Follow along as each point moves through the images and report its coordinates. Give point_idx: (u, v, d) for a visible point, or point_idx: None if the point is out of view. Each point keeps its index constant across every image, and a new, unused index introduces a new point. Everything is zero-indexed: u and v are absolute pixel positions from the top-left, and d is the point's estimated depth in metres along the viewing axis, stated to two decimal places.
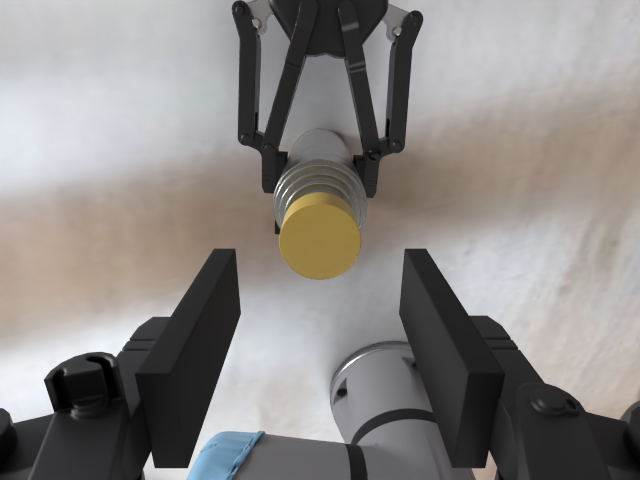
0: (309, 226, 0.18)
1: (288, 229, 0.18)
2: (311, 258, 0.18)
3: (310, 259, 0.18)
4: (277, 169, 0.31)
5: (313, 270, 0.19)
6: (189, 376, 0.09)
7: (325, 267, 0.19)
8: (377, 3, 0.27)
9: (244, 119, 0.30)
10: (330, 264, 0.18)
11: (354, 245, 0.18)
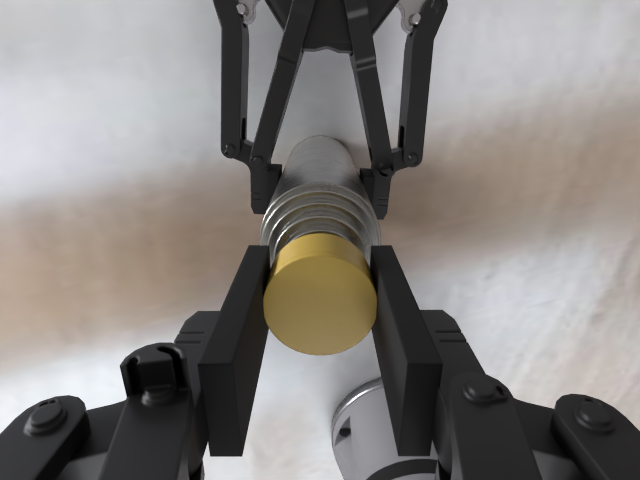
0: (305, 286, 0.13)
1: (275, 290, 0.13)
2: (308, 328, 0.13)
3: (307, 329, 0.13)
4: (269, 186, 0.26)
5: (311, 344, 0.13)
6: (243, 367, 0.09)
7: (328, 340, 0.13)
8: None
9: (228, 127, 0.25)
10: (335, 336, 0.13)
11: (368, 311, 0.13)
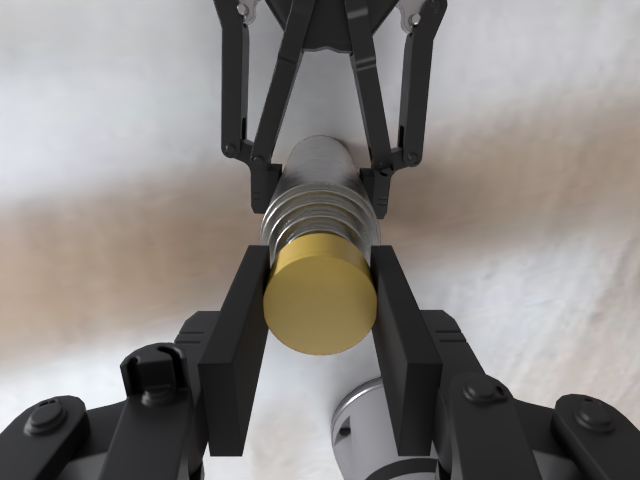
0: (297, 323, 0.13)
1: (305, 346, 0.13)
2: (344, 316, 0.13)
3: (346, 317, 0.13)
4: (269, 186, 0.26)
5: (363, 312, 0.13)
6: (243, 367, 0.09)
7: (357, 297, 0.13)
8: None
9: (228, 126, 0.25)
10: (352, 291, 0.13)
11: (318, 264, 0.12)
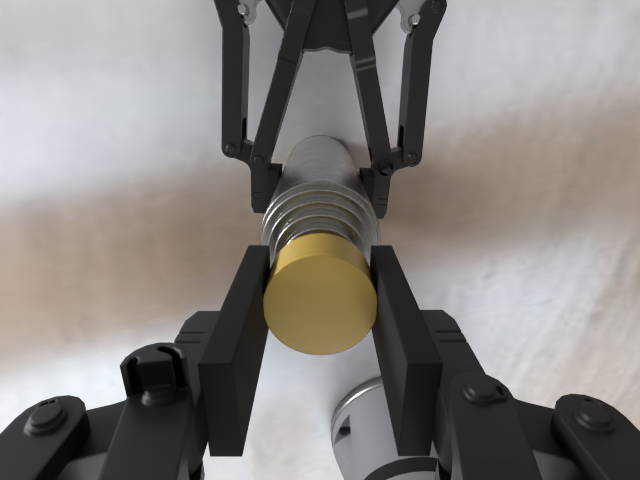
0: (339, 325, 0.13)
1: (366, 317, 0.13)
2: (326, 285, 0.13)
3: (328, 283, 0.13)
4: (269, 186, 0.26)
5: (319, 269, 0.12)
6: (243, 367, 0.09)
7: (303, 276, 0.12)
8: None
9: (229, 126, 0.25)
10: (297, 282, 0.12)
11: (272, 314, 0.13)
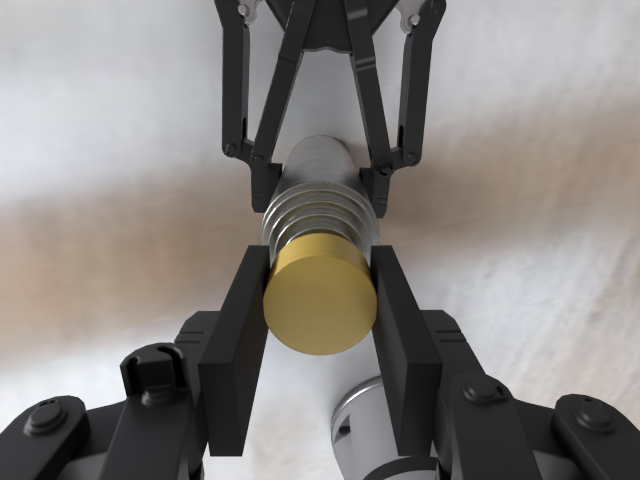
0: (339, 289, 0.13)
1: (325, 264, 0.12)
2: (293, 305, 0.13)
3: (291, 304, 0.13)
4: (269, 185, 0.26)
5: (276, 312, 0.13)
6: (243, 367, 0.09)
7: (287, 325, 0.13)
8: None
9: (229, 126, 0.25)
10: (294, 329, 0.13)
11: (332, 347, 0.13)
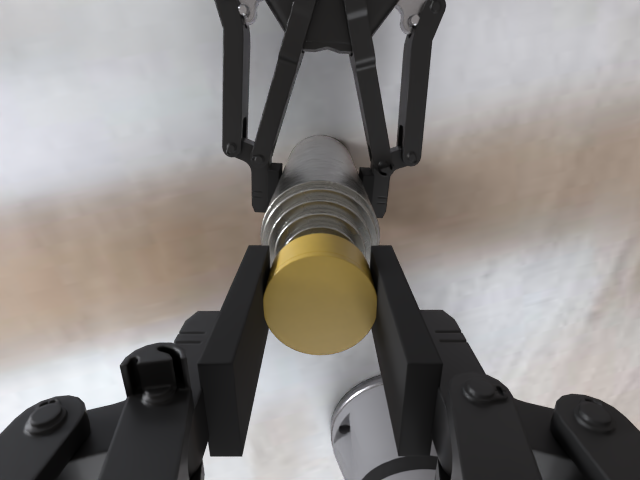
0: (296, 294, 0.13)
1: (271, 308, 0.13)
2: (319, 330, 0.13)
3: (319, 332, 0.13)
4: (269, 185, 0.26)
5: (329, 343, 0.13)
6: (243, 367, 0.09)
7: (343, 334, 0.13)
8: None
9: (230, 126, 0.25)
10: (347, 328, 0.13)
11: (366, 292, 0.13)
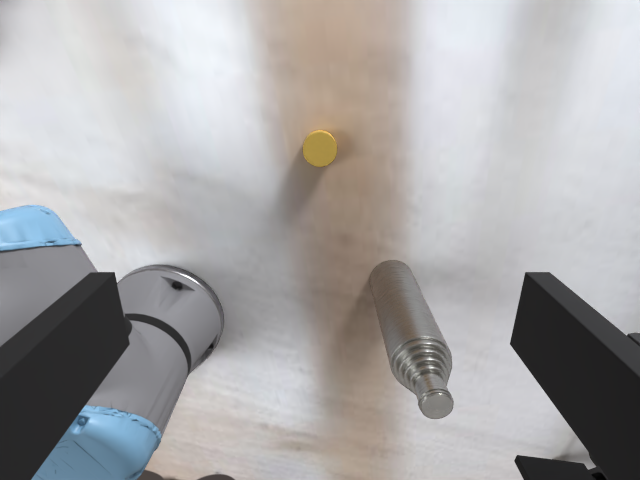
0: (312, 144, 0.43)
1: (305, 149, 0.43)
2: (319, 157, 0.44)
3: (319, 158, 0.44)
4: None
5: (322, 162, 0.44)
6: None
7: (326, 159, 0.44)
8: None
9: None
10: (328, 156, 0.43)
11: (333, 144, 0.43)
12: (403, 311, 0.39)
